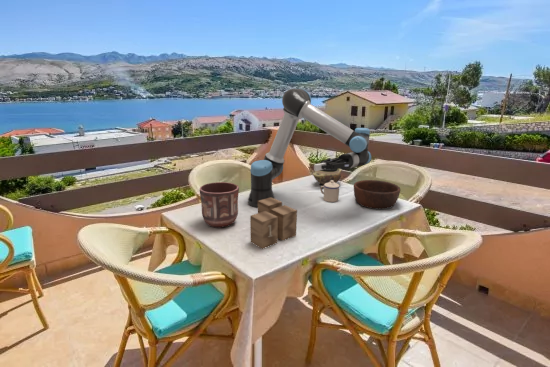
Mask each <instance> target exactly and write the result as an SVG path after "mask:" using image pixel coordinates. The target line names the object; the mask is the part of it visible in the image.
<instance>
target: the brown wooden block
mask: <svg viewBox="0 0 550 367" xmlns="http://www.w3.org/2000/svg"><path fill="white" fill-rule="evenodd" d="M271 214H273V215H275V216H277V217H278V234H277V239H278V238H279V239H278V240H280V239H281V240H280V241H282V240H284V241H286V240H288V238H289V239H291V238H294V237H295V236H297V221H298V218H297V216H298V210H297V209H295V208H293V207H290V206H288V205H285V204H282V206H280V207H277V208H273V209H271ZM285 239H286V240H285Z"/></svg>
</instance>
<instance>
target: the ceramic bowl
mask: <svg viewBox="0 0 550 367" xmlns="http://www.w3.org/2000/svg"><path fill="white" fill-rule="evenodd" d="M342 171H343V169H332V170H331V169H323V170H318V171H315V170H313V173H312V176H313V178H314V180H315V181H316V182H318V184H319V186H320V187H321V186H324V184H325V183H328V182H330V181H331V180H333V181H334V182H335V183H338V182H339V181H340V180H341V176H342V175H341V173H342Z"/></svg>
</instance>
